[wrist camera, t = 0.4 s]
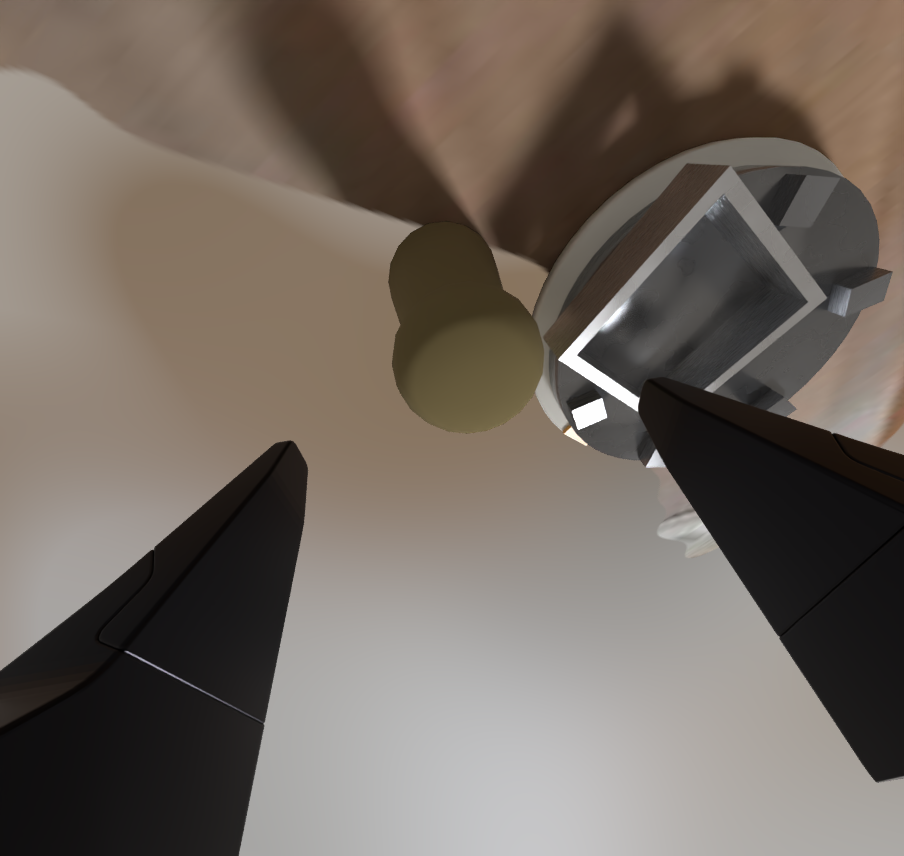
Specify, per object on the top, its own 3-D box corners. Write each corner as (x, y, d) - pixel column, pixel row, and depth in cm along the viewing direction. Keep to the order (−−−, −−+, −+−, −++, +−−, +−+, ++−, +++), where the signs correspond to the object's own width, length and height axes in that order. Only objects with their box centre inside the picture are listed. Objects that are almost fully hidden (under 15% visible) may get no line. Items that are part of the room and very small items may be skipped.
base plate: (735, 21, 14) (760, 11, 13) (885, 279, 22) (908, 285, 21) (468, 375, 23) (471, 385, 22) (642, 471, 31) (650, 481, 30)
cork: (376, 316, 20) (356, 438, 12) (407, 200, 17) (412, 251, 8) (471, 347, 22) (515, 473, 14) (516, 248, 19) (611, 330, 10)
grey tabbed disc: (884, 290, 21) (979, 318, 18) (653, 470, 29) (687, 514, 26) (743, 55, 14) (855, 24, 11) (488, 377, 22) (504, 420, 19)
